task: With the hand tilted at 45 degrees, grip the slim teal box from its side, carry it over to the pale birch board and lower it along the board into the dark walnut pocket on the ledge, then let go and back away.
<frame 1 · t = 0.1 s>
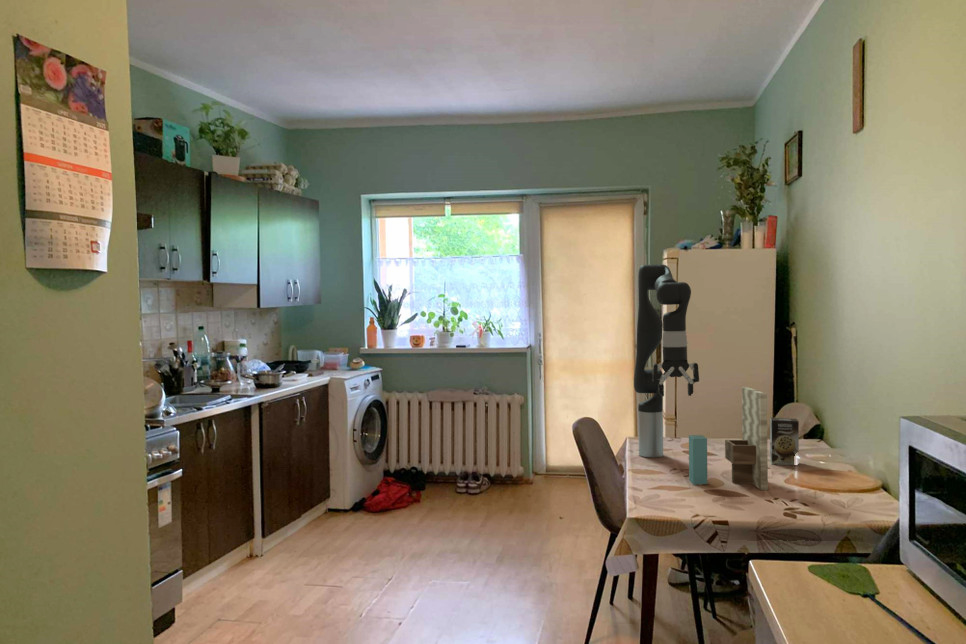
hand: (675, 395, 214), 29 cm above the table, tool pointing down, fingers open, 8 cm apart
wall rack: (742, 482, 217), on the table
slim box: (698, 482, 218), on the table
coffee box: (784, 464, 242), on the table
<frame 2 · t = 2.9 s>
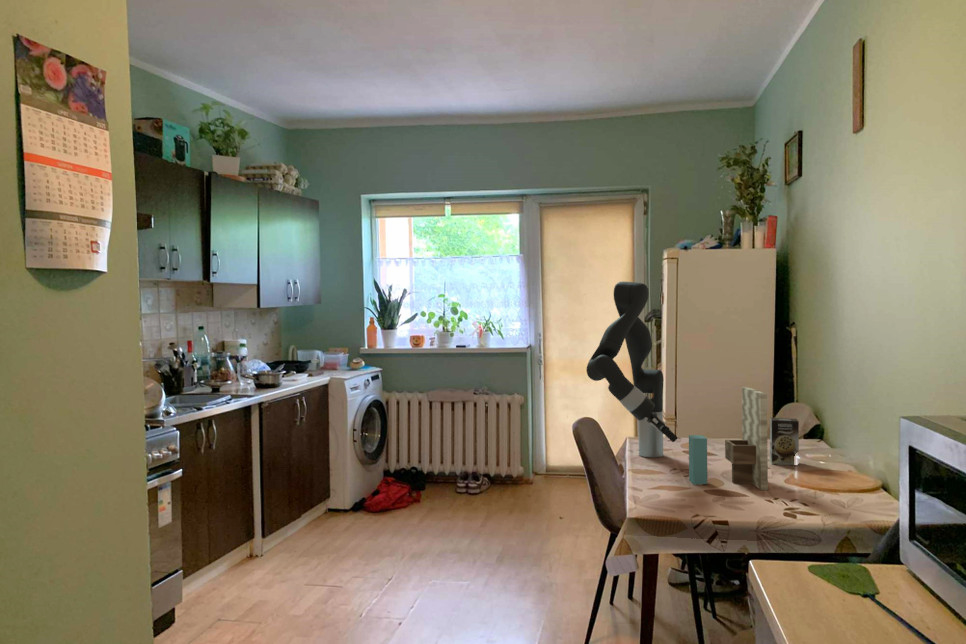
hand: (672, 437, 219), 15 cm above the table, tool tilted 45°, fingers open, 8 cm apart
nothing on the table moved.
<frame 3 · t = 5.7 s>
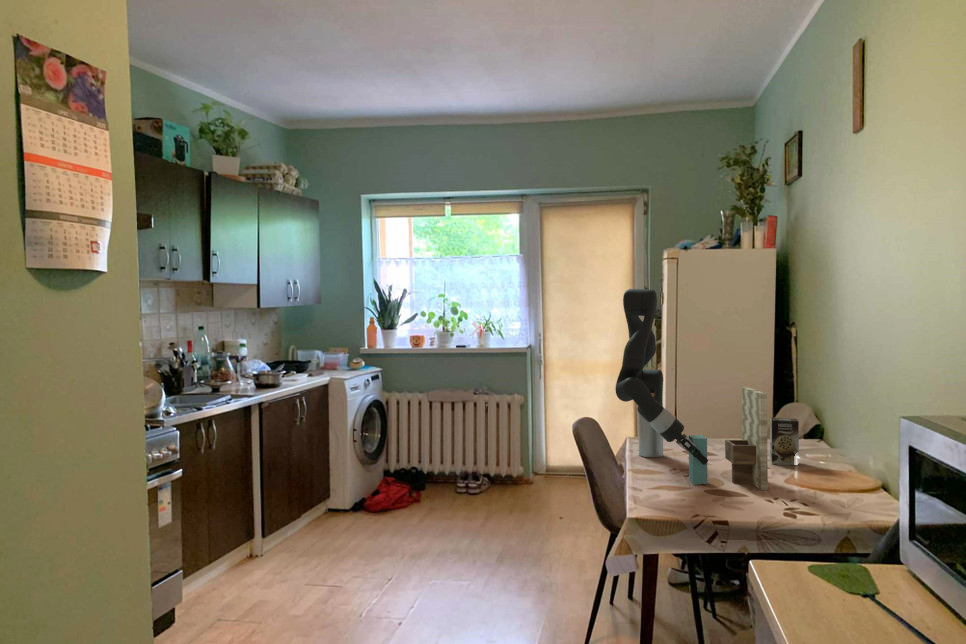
hand: (703, 460, 218), 7 cm above the table, tool tilted 45°, fingers closed on slim box, 5 cm apart
slim box: (698, 482, 218), on the table, touching gripper
everything else where it was.
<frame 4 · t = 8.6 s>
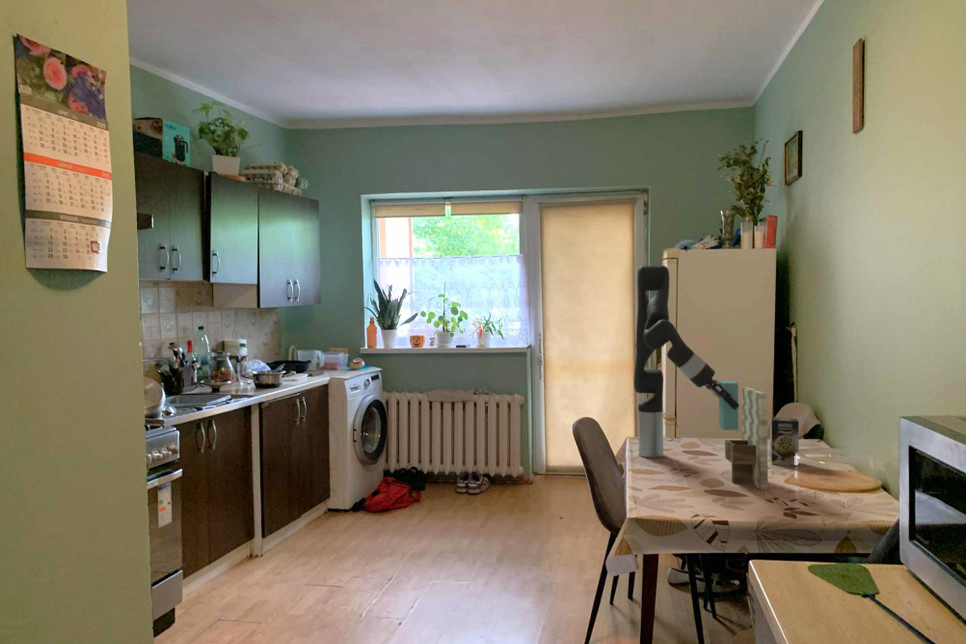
hand: (734, 406, 217), 25 cm above the table, tool tilted 45°, fingers closed on slim box, 5 cm apart
slim box: (728, 428, 217), point 18 cm above the table, touching gripper
everything else where it was.
when the fingers open (17 cm above the table, at t = 11.5 s): slim box drops 1 cm, resting on wall rack.
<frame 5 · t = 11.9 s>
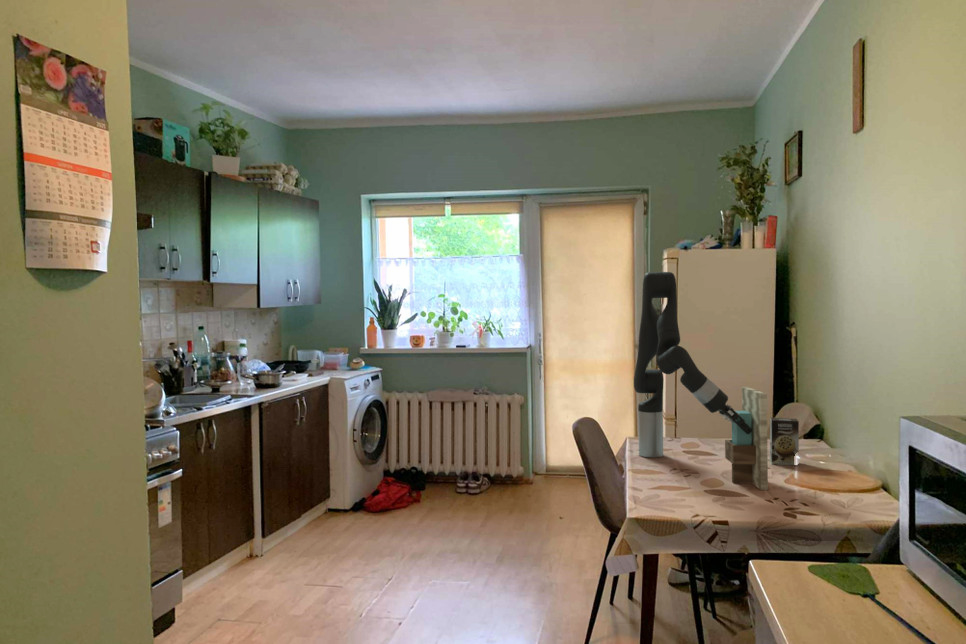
hand: (745, 429, 217), 17 cm above the table, tool tilted 45°, fingers open, 8 cm apart
slim box: (741, 458, 217), point 8 cm above the table, touching wall rack
everything else where it was.
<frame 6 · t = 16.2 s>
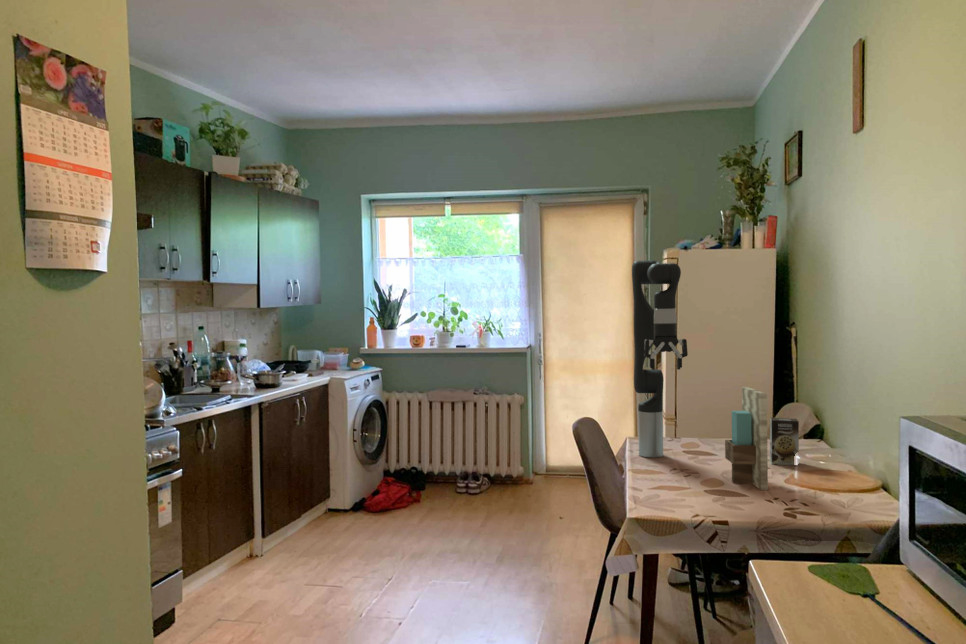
hand: (665, 369, 228), 36 cm above the table, tool pointing down, fingers open, 8 cm apart
nothing on the table moved.
at the end: slim box 0.1 cm off-centre on the wall rack, point 8.0 cm above the wall rack's base; slim box tilted 0°; the gripper is holding nothing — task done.
